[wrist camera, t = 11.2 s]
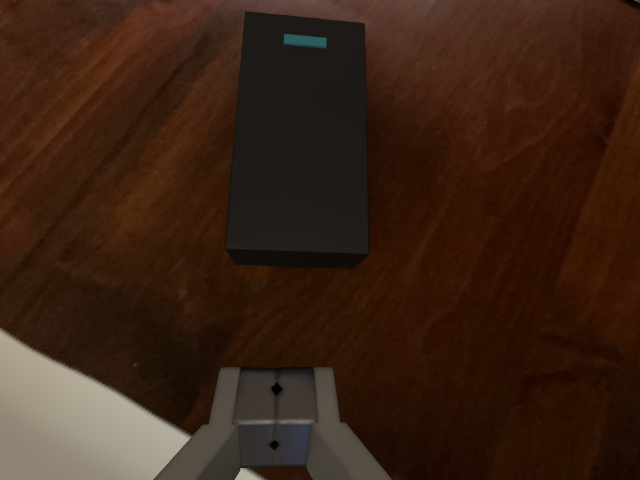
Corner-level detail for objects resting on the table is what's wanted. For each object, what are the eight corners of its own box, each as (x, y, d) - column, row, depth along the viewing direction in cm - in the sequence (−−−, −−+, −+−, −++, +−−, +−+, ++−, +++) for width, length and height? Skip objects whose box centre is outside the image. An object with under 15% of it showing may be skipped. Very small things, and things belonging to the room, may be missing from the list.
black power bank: (370, 253, 18) (365, 20, 21) (223, 247, 17) (244, 8, 21) (353, 269, 22) (352, 71, 25) (235, 265, 21) (250, 62, 25)
